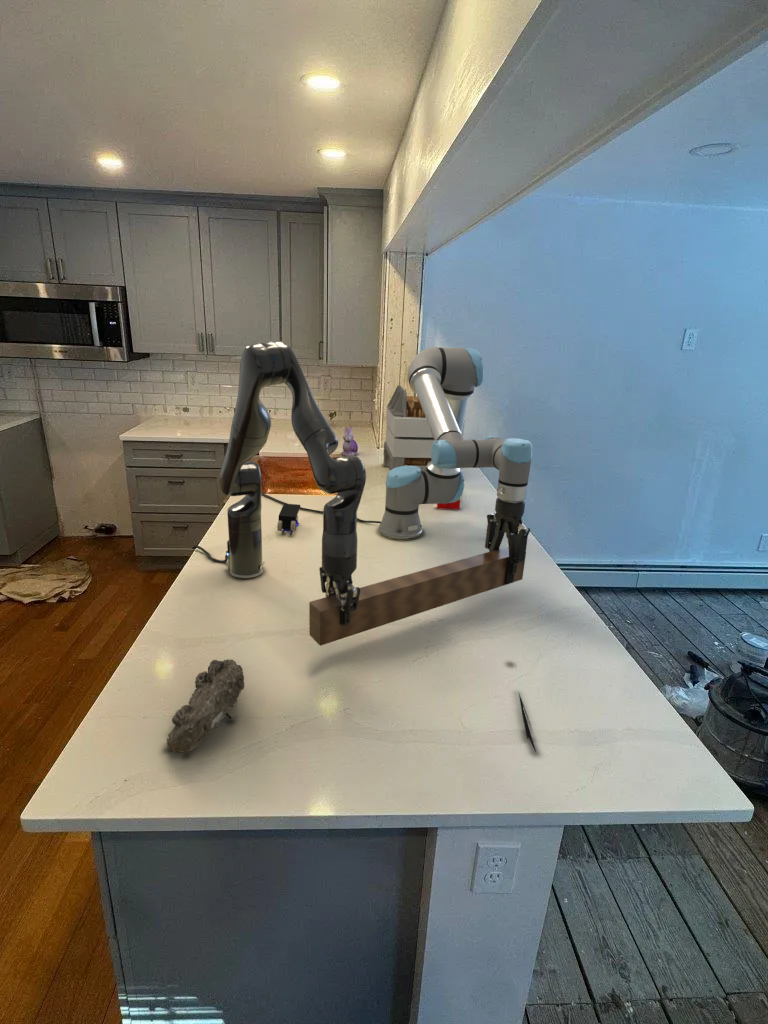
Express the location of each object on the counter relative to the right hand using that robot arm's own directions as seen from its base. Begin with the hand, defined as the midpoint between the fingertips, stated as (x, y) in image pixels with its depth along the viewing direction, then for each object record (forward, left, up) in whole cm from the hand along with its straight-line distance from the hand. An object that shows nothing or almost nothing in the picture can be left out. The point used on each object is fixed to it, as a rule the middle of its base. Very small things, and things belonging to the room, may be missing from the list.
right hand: (500, 578), depth 156 cm
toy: (-71, +52, -6) cm, 88 cm away
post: (-3, -26, -1) cm, 26 cm away
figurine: (-152, +64, -6) cm, 164 cm away
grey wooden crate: (-104, +70, -6) cm, 126 cm away
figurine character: (-77, -20, -6) cm, 79 cm away
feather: (+31, -32, -6) cm, 46 cm away
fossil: (-3, -83, -6) cm, 83 cm away
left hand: (-5, -51, +3) cm, 52 cm away
